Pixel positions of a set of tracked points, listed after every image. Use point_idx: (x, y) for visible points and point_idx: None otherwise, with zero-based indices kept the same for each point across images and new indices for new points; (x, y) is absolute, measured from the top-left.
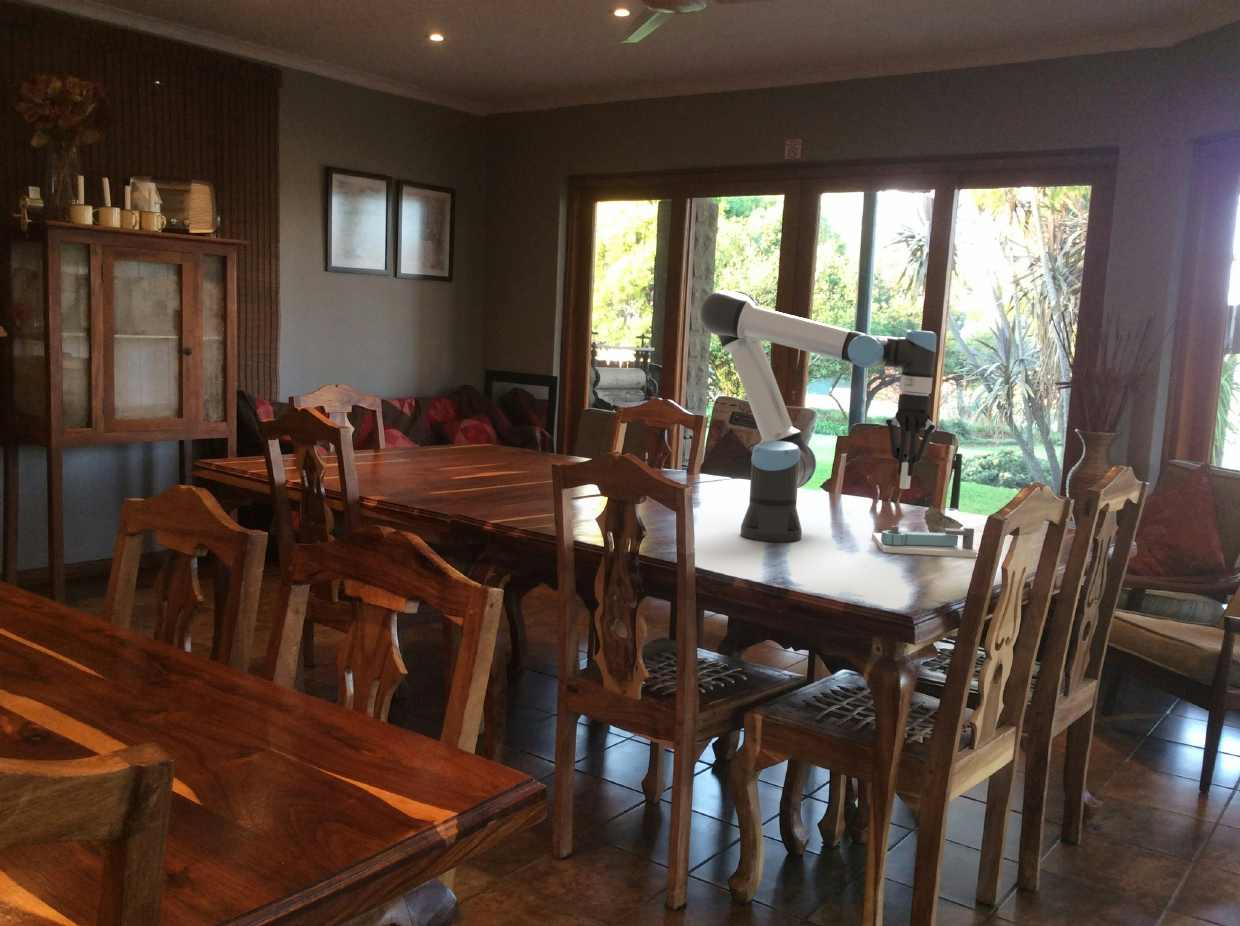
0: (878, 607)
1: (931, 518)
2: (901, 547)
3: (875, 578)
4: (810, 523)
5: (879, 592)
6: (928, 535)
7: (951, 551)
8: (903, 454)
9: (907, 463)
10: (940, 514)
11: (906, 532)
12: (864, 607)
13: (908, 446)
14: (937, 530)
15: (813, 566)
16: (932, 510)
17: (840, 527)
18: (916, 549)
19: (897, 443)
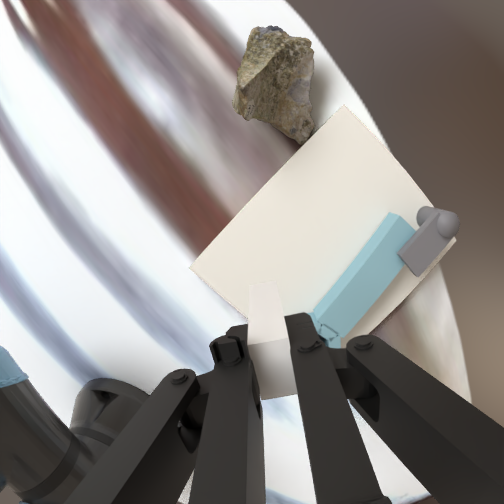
0: (428, 494)
1: (265, 113)
2: (341, 347)
3: (393, 466)
4: (37, 257)
5: (415, 482)
6: (377, 297)
7: (420, 281)
8: (262, 431)
9: (296, 392)
10: (267, 71)
11: (329, 321)
12: (419, 501)
13: (248, 425)
14: (294, 127)
15: (312, 486)
16: (254, 92)
17: (80, 232)
18: (368, 332)
19: (169, 466)
